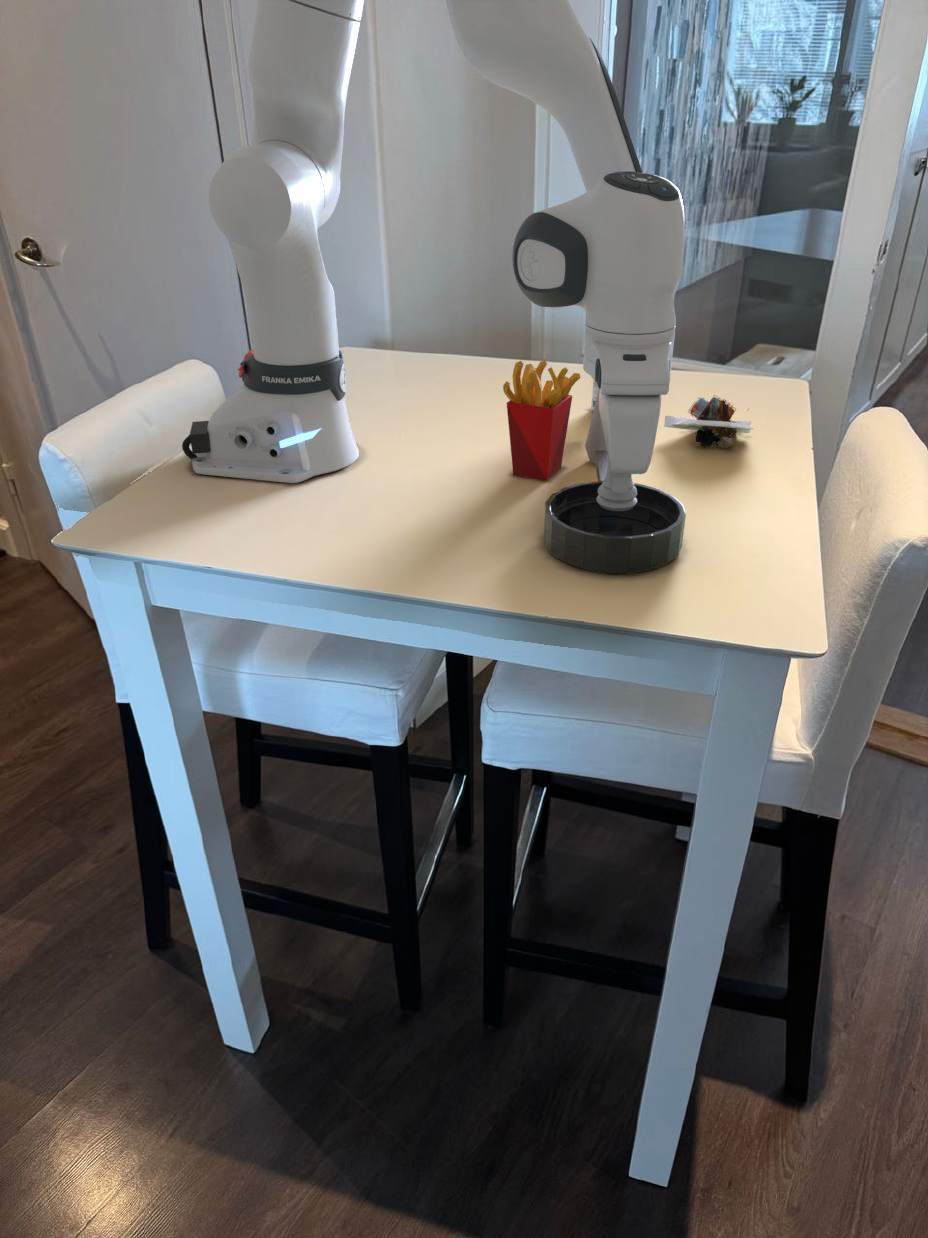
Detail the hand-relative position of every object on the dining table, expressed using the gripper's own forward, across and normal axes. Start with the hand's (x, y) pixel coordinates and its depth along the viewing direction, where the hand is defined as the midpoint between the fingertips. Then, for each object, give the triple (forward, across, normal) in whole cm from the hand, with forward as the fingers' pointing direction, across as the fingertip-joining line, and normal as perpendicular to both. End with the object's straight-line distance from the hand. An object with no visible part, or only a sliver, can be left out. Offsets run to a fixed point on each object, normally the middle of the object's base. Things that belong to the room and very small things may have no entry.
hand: (617, 481), depth 99 cm
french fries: (+8, -20, -8) cm, 23 cm away
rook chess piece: (+3, 0, 0) cm, 3 cm away
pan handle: (+4, -13, 0) cm, 13 cm away
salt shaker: (+8, -25, +1) cm, 26 cm away
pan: (+8, 0, 0) cm, 8 cm away
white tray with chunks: (+8, -33, +16) cm, 37 cm away
